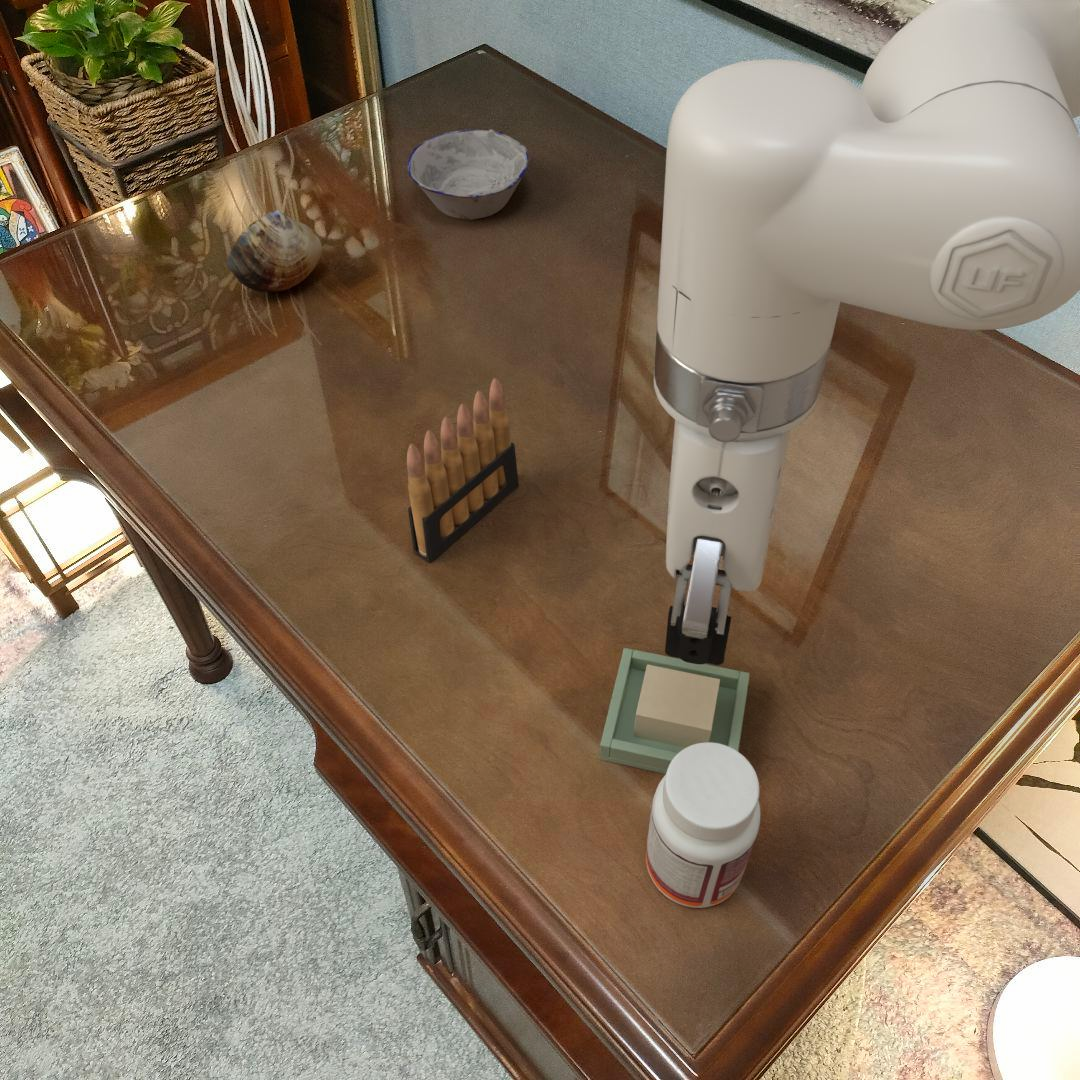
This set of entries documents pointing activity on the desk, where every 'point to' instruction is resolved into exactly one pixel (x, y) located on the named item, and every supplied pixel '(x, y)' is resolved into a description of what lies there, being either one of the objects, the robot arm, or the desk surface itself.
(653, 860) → the pill bottle
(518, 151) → the bowl
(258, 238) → the seashell
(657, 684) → the beige block
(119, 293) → the desk surface
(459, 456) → the ammunition clip
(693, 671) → the shallow square green tray
